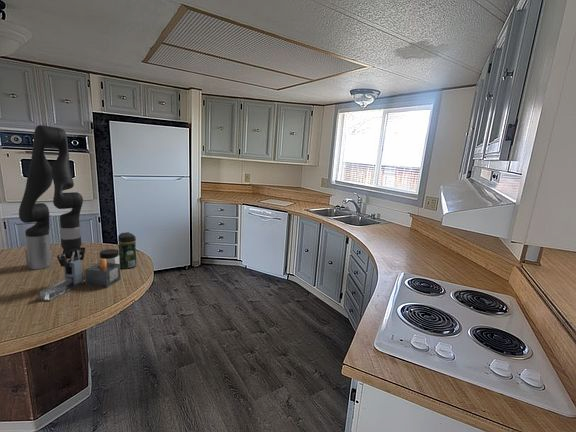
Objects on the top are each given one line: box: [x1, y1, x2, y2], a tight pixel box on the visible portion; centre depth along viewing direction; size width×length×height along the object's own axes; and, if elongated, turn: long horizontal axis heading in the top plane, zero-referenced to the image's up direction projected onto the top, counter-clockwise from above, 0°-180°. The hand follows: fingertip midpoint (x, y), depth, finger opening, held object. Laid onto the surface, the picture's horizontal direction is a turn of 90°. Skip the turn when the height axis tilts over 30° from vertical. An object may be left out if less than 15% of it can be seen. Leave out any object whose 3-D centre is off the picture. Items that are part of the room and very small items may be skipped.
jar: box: [98, 248, 120, 264], centre depth 152 cm, size 9×8×12 cm
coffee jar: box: [117, 231, 137, 269], centre depth 163 cm, size 10×8×19 cm
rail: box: [35, 272, 86, 302], centre depth 132 cm, size 6×21×4 cm, turn 175°
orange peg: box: [98, 259, 107, 268], centre depth 141 cm, size 3×3×8 cm
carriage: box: [63, 260, 83, 285], centre depth 137 cm, size 5×4×10 cm
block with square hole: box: [85, 262, 122, 288], centre depth 142 cm, size 10×10×8 cm
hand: (73, 272), depth 137 cm, fingers closed on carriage, 4 cm apart
